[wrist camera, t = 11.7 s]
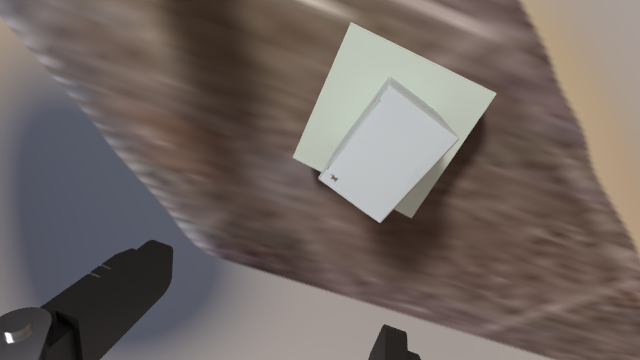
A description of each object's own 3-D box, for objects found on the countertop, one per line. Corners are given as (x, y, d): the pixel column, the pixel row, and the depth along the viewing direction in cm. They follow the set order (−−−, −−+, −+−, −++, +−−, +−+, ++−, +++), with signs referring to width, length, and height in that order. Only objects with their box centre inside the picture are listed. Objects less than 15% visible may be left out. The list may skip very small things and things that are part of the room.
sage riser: (358, 28, 33) (351, 22, 27) (479, 87, 32) (496, 93, 27) (307, 143, 39) (292, 157, 33) (409, 195, 38) (411, 218, 33)
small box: (382, 175, 32) (378, 227, 22) (338, 142, 31) (315, 181, 22) (439, 111, 28) (463, 140, 19) (389, 73, 28) (389, 83, 18)
